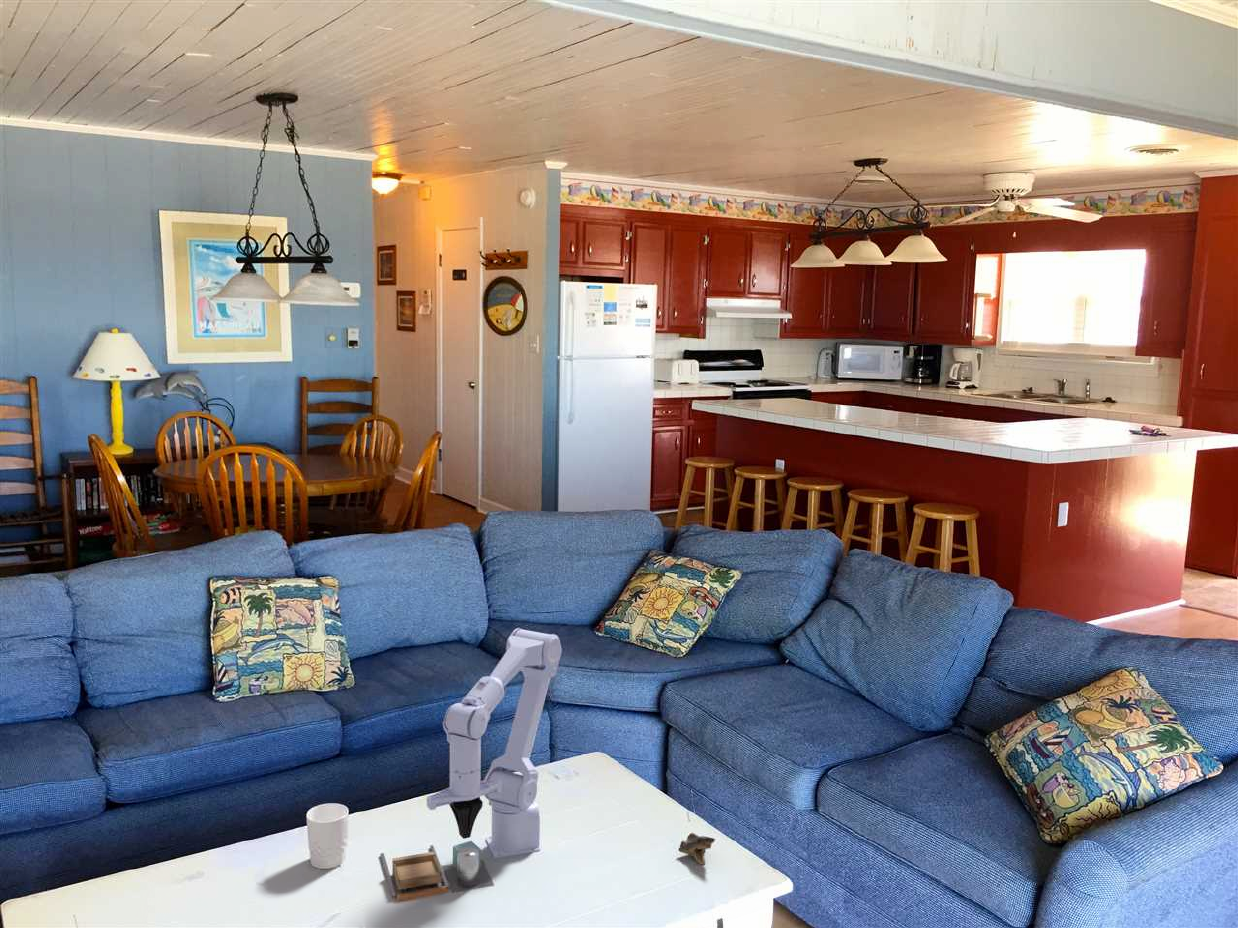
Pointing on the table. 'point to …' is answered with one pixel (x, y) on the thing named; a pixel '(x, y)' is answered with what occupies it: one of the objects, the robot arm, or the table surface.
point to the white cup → (327, 835)
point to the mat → (452, 880)
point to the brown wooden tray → (416, 871)
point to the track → (420, 892)
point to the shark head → (696, 846)
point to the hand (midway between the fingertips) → (464, 835)
